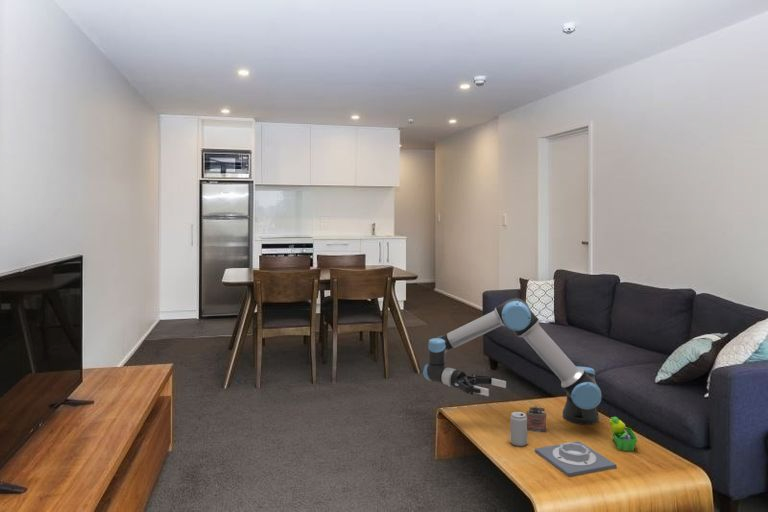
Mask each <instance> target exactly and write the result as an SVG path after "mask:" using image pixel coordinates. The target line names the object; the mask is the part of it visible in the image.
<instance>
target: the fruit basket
mask: <svg viewBox="0 0 768 512" xmlns="http://www.w3.org/2000/svg"><path fill="white" fill-rule="evenodd" d="M609 428H610V430H611V433H612V437H613V441H614V443H615V445H616V447H617V449H618V450H619V451H627V452H630V451H631V452H634V451H635V450H634V449H635V447H636V443H637V441H638V438H637V436H636V434H635V433H634V431H633V429H632V428H630V427H627V426H626V424H625V422H623V421H622V420H621V419H619V418H618V417H617V416H611V417H610V419H609Z"/></svg>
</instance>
